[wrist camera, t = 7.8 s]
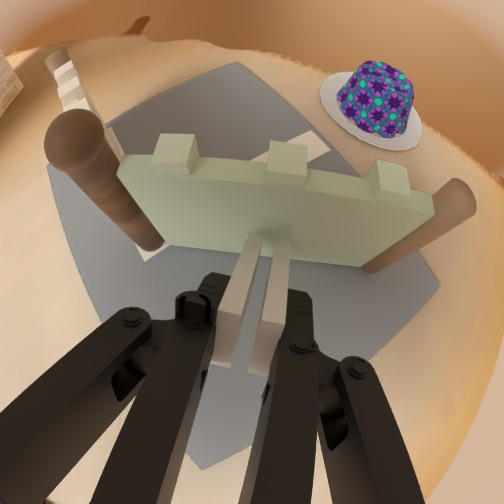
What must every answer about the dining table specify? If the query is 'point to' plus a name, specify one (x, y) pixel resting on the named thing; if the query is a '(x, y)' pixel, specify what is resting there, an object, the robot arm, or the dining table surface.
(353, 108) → the pudding
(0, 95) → the coffeecake box
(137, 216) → the hinge post
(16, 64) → the dining table surface
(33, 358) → the dining table surface
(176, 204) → the panel
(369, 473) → the robot arm
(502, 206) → the dining table surface
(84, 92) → the fixed panel
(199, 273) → the card
